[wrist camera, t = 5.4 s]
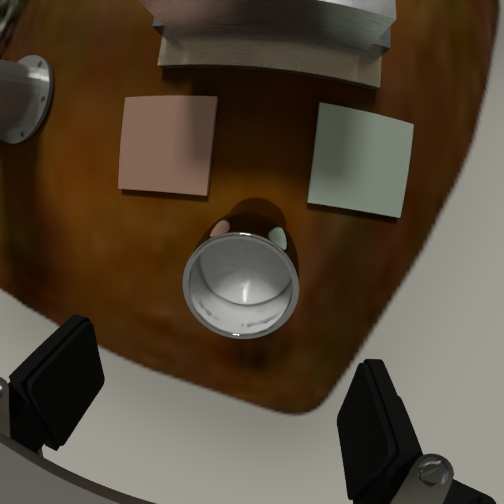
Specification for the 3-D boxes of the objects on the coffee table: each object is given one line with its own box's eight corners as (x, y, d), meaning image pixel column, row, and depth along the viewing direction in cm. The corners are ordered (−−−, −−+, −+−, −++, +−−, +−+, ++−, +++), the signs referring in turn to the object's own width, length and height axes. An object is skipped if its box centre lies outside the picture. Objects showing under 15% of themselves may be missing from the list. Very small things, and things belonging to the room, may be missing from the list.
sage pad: (410, 125, 26) (413, 124, 25) (397, 216, 29) (400, 217, 28) (319, 103, 26) (320, 102, 26) (306, 201, 29) (307, 202, 29)
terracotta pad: (218, 97, 27) (216, 96, 26) (208, 194, 30) (206, 195, 29) (128, 98, 27) (125, 97, 26) (121, 187, 30) (118, 188, 30)
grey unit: (377, 13, 22) (425, -48, 9) (375, 90, 25) (438, 54, 12) (177, -6, 23) (130, -69, 10) (162, 69, 26) (95, 26, 13)
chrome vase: (218, 196, 30) (167, 235, 16) (287, 189, 29) (299, 222, 15) (227, 261, 32) (191, 343, 18) (293, 256, 31) (305, 338, 17)
